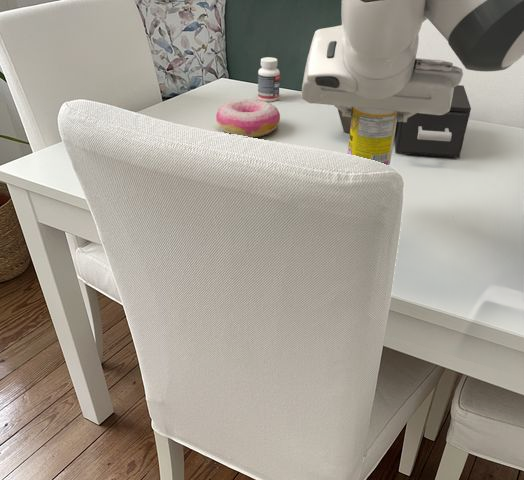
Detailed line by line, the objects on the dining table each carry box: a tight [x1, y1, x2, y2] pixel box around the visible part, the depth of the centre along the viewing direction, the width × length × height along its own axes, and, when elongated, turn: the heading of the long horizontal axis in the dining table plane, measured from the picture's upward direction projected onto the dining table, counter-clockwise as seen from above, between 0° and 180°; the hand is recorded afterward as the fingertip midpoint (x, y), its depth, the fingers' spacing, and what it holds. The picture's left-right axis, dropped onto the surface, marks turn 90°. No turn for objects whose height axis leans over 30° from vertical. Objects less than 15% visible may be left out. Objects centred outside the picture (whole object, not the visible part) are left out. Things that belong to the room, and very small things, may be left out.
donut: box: [215, 98, 281, 138], centre depth 123 cm, size 14×13×5 cm
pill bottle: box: [257, 56, 281, 102], centre depth 138 cm, size 5×5×9 cm
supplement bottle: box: [347, 107, 399, 166], centre depth 84 cm, size 7×7×13 cm
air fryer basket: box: [399, 111, 467, 155], centre depth 113 cm, size 18×11×8 cm, turn 170°
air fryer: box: [394, 84, 472, 159], centre depth 116 cm, size 15×13×10 cm
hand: (374, 114), depth 84 cm, fingers closed on supplement bottle, 6 cm apart
